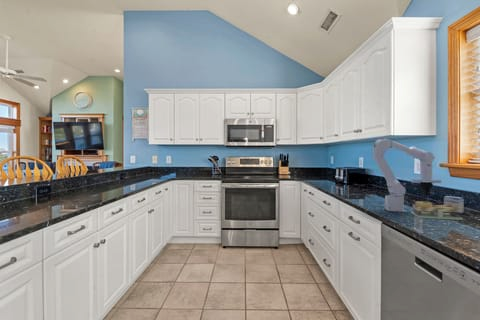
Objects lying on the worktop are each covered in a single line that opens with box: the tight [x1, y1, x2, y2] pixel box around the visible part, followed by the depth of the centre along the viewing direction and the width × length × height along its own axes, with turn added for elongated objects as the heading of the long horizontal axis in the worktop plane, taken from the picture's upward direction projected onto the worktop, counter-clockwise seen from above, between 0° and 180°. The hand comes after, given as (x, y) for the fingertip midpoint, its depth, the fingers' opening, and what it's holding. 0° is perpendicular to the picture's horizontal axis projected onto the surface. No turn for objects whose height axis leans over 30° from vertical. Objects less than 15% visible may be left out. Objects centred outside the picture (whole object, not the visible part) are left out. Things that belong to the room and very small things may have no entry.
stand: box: [410, 208, 464, 221], centre depth 135 cm, size 20×11×5 cm, turn 73°
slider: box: [415, 201, 433, 207], centre depth 137 cm, size 6×5×3 cm
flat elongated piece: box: [412, 204, 461, 213], centre depth 135 cm, size 19×9×2 cm, turn 73°
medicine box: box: [443, 195, 465, 214], centre depth 145 cm, size 8×4×9 cm, turn 27°
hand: (426, 195), depth 148 cm, fingers closed
